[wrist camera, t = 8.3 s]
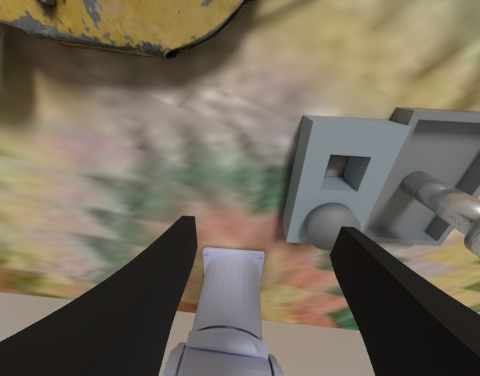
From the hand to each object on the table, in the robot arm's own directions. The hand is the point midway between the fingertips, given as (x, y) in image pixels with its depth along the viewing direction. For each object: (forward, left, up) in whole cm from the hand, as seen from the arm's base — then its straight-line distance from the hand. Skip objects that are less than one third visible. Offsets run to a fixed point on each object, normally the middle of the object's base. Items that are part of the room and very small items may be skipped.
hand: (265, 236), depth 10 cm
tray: (-1, -16, -10) cm, 19 cm away
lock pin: (-1, -15, -10) cm, 18 cm away
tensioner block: (-2, -7, -10) cm, 13 cm away
